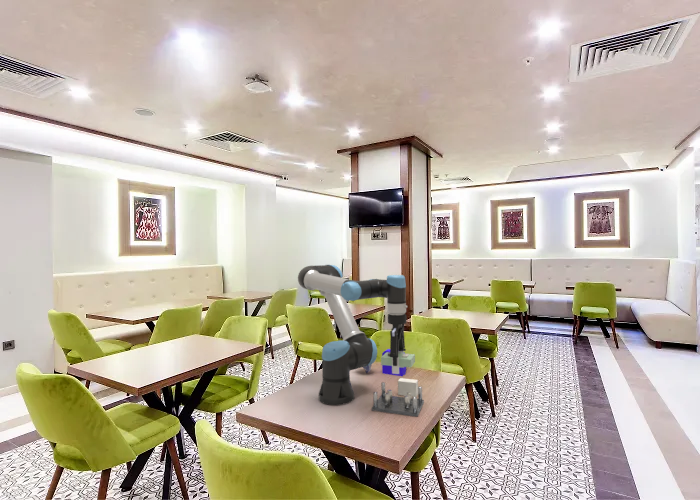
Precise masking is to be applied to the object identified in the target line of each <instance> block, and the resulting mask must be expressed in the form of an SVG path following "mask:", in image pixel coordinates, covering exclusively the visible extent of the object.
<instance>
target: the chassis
mask: <svg viewBox="0 0 700 500" xmlns="http://www.w3.org/2000/svg"><path fill="white" fill-rule="evenodd" d="M380 391H381V395H380V396H379V397H378V391H373V394H372V395H373V396H372V397H373V402H372V403H373V404H372V407H371V411H373V412H379V413H385V414H386V413H388V414H395V415H401V416H402V415H403V416H406V417H407V416H410V417H416V418H417V417H419V415H420V413H421V410H422V408H423V405H424V403H425V400H424V399H423V386H421V385H418V395H417V397H412V393H411V392H407V396H404V395H403V396H397V395H393V390H392V389H387V392H386V382H384V381H383V382H381V389H380Z"/></svg>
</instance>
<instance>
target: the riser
mask: <svg viewBox="0 0 700 500" xmlns="http://www.w3.org/2000/svg"><path fill="white" fill-rule="evenodd" d="M418 387H419V379H412V378H403V377H400V378H399V379H398V380H397V395H398V396H403V397H404V396H407V392H411V393H412V398H413V397H417V398H418Z"/></svg>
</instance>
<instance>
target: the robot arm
mask: <svg viewBox="0 0 700 500" xmlns="http://www.w3.org/2000/svg"><path fill="white" fill-rule="evenodd" d="M297 281H298V284H299V285H300V287H302V288H303V289H304V290H307V291H308V290H309V291H314V290H317V291H319V294H320V295H321V296H323V297H324V298H325V300H326V302H327V305H328V307H329V310H330V311H331V314H332V316H333V318H334V321H335V323H336V326H337V327H338V330H339V332H340V335H341V338H342V340H340V339H339V340H337V341H336V340H334V341H330V342H328V343H326V344H324V346H323V347H322V352H321V360H322V361H321V363H322V364H321V365H322V366H321V369H322V380H321V385H320V388H319V392H318V401H319V402H320V403H323V404H324V405H329V406H330V405H331V406H340V405H341V406H342V405H346V404H349V403H351V402H352V401H354V399H355V392H354V388H353V385H352V383H351V377H350V375H351V371H354V370H357V369H361V368H363V367H367V366H368V365H371V364H372V365H373V364H374V362H375V361H376V360H377V357H378V356H377V355H378V348H377V344H376V342H375V341H374V339H372V338H368V337H367V335H366V333H365V332H363V331H361V330H360V328H359V325H358V324H357V322H356V320H355V317H354V315H353V312H352V310H351V308H350V307H349V305H348V303H347V302H349V301H351V302H352V301H353V302H355V301H357V300H358V301H359V300H367V299H374V298H375V299H376V298H384V299H386V301H387V304H386V305H387V313H388V314H387V323H388V324H389V325H392V328H391V330H390V332H389V335H390V347H389V349H390V355H389V356H390V357H392V374H399V367H400V366H399V357H398V353H403V354H404V353H405V352H406V350H407V349H406V345H405V324H407V321H408V320H407V314H406V313H407V308H408V305H407V294H406V293H407V285H406V277H405V275H403V274H401V275H400V274H391V275H390V274H389V275H387V277H386V279H381V278H380V279H378V278H370V279H366V280H354V279H350V278H345V277H344V278H343V273H342V270H341V268H339V267H338V266H337V265H335V264H334V265H333V264H325V265H307V266H305V267H303V268H302V269H300V271H299V272H298V275H297ZM393 353H394V354H393ZM401 368H404V367H401Z"/></svg>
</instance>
